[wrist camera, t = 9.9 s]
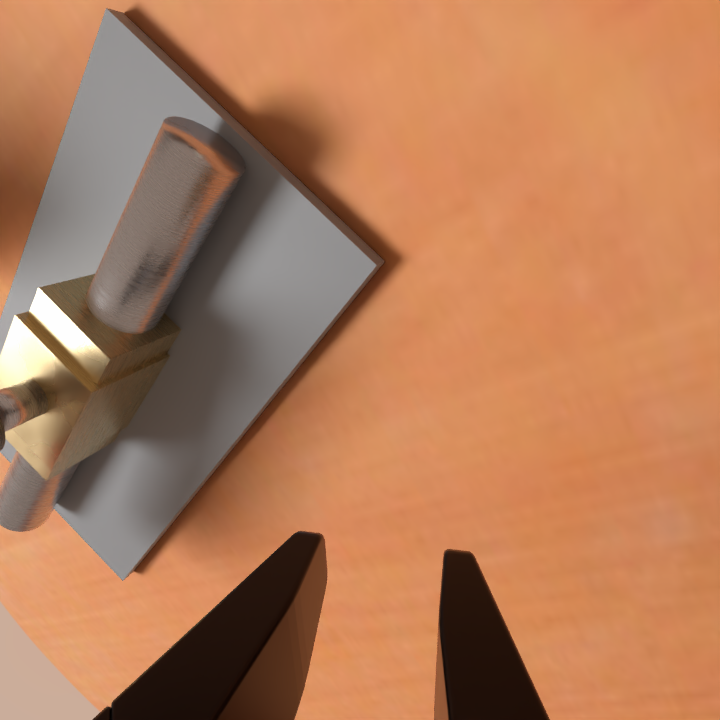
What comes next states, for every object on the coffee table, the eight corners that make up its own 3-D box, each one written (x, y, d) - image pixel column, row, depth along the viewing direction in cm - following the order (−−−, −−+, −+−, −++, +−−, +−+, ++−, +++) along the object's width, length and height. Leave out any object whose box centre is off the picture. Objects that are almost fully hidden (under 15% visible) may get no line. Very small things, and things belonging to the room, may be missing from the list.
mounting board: (122, 12, 21) (106, 8, 20) (385, 261, 20) (376, 265, 19) (-21, 411, 35) (-34, 416, 34) (132, 571, 34) (122, 580, 33)
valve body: (190, 105, 20) (33, 90, 15) (274, 185, 20) (145, 200, 15) (21, 467, 33) (-96, 530, 28) (70, 519, 33) (-39, 593, 28)
